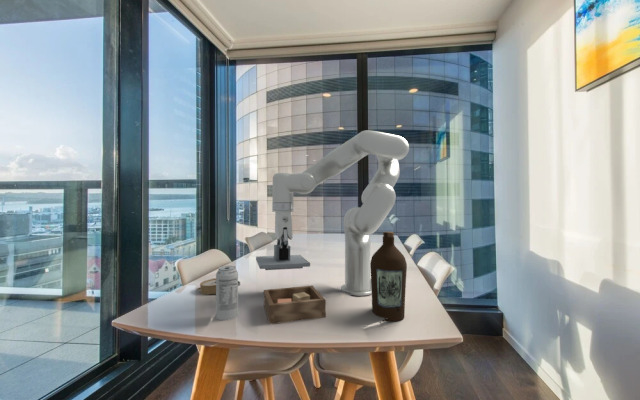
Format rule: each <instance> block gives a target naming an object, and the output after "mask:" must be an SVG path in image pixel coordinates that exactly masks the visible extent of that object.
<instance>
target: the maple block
mask: <svg viewBox="0 0 640 400" xmlns="http://www.w3.org/2000/svg"><path fill="white" fill-rule="evenodd" d="M303 300H310V295H308V294H307V293H305V292H301V293H296V294H293V301H303Z"/></svg>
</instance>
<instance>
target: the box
mask: <svg viewBox="0 0 640 400" xmlns="http://www.w3.org/2000/svg"><path fill="white" fill-rule="evenodd" d="M301 292H305V293H307V294H308V295H310V300H303V301H293V294H296V293H301ZM278 299H291V302H283V303H278ZM326 303H327V299H326V298H325V297H324V296H323V295H321V293H320V292H319V291H318V290H317V289H316V287H314V286H313V285H304V286H294V287H293V286H292V287H282V288H271V289H263V308H264V310H265V314H266V317H267V321H268V324H269V325H274V324H283V323H289V322H290V323H291V322H298V321H306V320H314V319H321V318H322V319H323V318H326V315H327V314H326V313H327V310H326V309H327V307H326Z"/></svg>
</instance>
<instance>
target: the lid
mask: <svg viewBox="0 0 640 400" xmlns="http://www.w3.org/2000/svg"><path fill="white" fill-rule="evenodd" d="M279 248H280V245H277V244H274V246H273V255H262V256H261V255H260V256H255V261H256V263H257V266H258V268H259V269H260V270H265V271H276V270H295V269H299V270H300V269H303V268H305V267H306V268H307V267H308V268H309V267H311V262H309V260H307V259H306V258H305V257H304V256H302V255H301V254H291V246H290V245H289V244H288V260H279Z"/></svg>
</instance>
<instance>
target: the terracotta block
mask: <svg viewBox="0 0 640 400" xmlns="http://www.w3.org/2000/svg"><path fill="white" fill-rule="evenodd" d="M283 302H291V299H278V303H283Z"/></svg>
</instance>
